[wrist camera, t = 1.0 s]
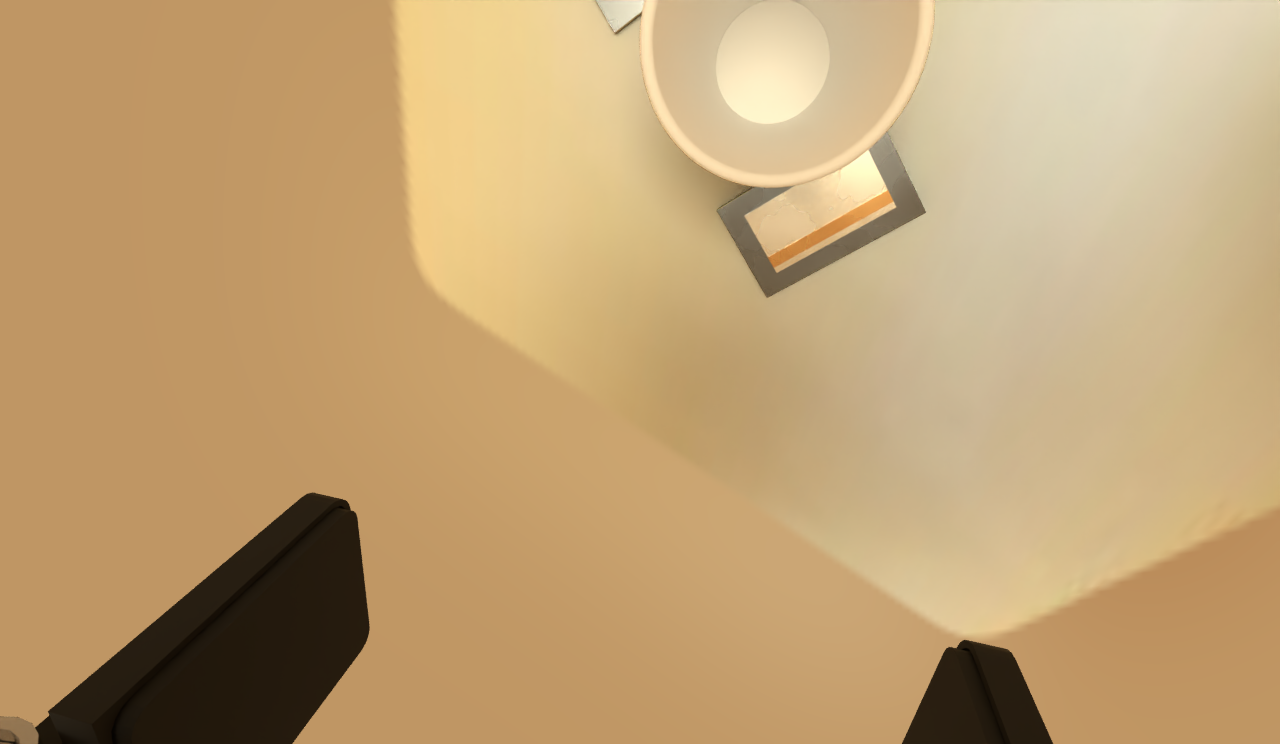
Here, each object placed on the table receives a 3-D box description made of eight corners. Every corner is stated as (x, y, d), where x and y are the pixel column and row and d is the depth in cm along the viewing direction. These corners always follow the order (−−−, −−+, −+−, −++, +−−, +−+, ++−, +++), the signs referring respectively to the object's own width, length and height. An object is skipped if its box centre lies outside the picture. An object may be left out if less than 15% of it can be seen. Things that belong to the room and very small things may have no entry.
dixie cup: (653, 116, 28) (597, 120, 18) (730, -78, 25) (713, -202, 15) (807, 188, 28) (835, 232, 18) (905, 6, 25) (1003, -62, 15)
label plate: (876, 111, 26) (878, 111, 26) (923, 211, 28) (926, 212, 27) (717, 209, 29) (716, 210, 29) (766, 295, 31) (767, 298, 30)
